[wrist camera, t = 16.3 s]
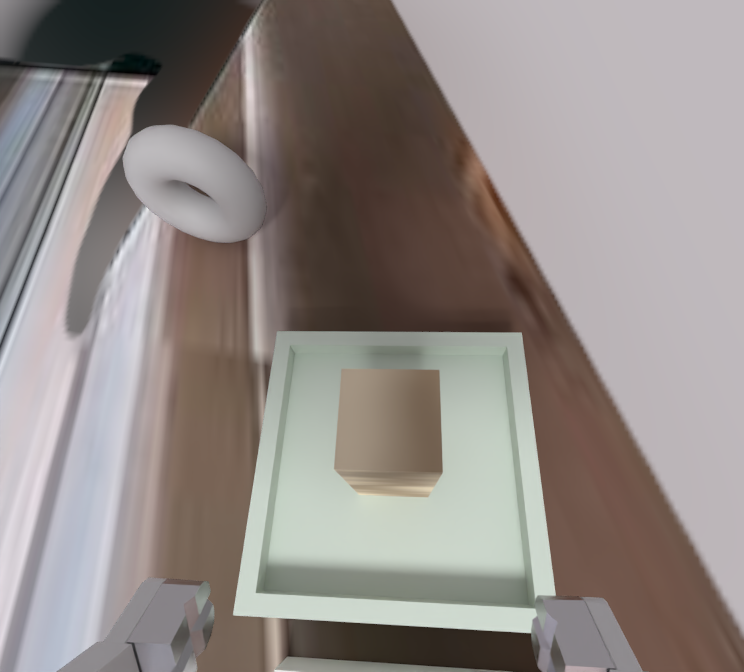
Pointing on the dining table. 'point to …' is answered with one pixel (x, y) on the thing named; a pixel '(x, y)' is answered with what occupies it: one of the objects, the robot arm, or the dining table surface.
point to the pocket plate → (359, 666)
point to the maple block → (389, 431)
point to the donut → (194, 183)
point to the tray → (396, 513)
